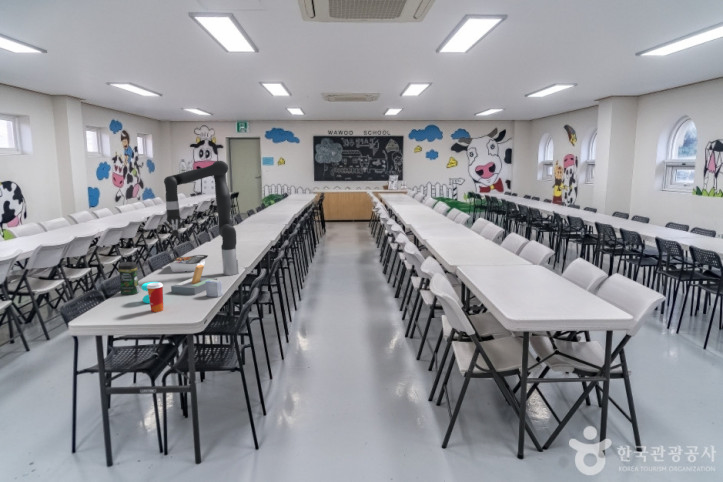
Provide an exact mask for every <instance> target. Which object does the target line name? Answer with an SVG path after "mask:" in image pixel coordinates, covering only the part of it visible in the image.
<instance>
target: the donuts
mask: <svg viewBox="0 0 723 482" xmlns="http://www.w3.org/2000/svg"><path fill="white" fill-rule="evenodd" d="M157 282H158V283H159V281H149V282H145V283H143V284H142V285H141V286H140V288H141V290H142V291H144V292H148V288H147V285H148V284H150V283H157ZM142 302H143V303H144V304H150V300H149V294H146V295H144V296H143V297H142Z"/></svg>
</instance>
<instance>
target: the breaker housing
mask: <svg viewBox="0 0 723 482" xmlns="http://www.w3.org/2000/svg"><path fill="white" fill-rule="evenodd" d="M192 279H193V277H191V278H189V279H186V280H184V281H182V282H178V283H176V284H174V285H171V286H170V289H171V294H179V295H191V296H192V295H193V296H195V295H197V294H201V293H203V292H206V283H205V282H206V281H208V280H218V278H215V277H214V278H213V277H202V276H201V278H200V282H199V283H196V284H191V282H192Z"/></svg>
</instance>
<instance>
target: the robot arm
mask: <svg viewBox="0 0 723 482" xmlns="http://www.w3.org/2000/svg"><path fill="white" fill-rule="evenodd" d="M228 170H229V165H228V164H227V162H225V161H224V160H216V161H214V162H213V163H212V164H210V165H207V166H205V167H204V166H203V167H201V168H196V169H191V170H187V171H184V172H181V173H177V174H173V175H169V176H166V177H164V179H163V184H164V187H165V209H166V220H165V221H163V225H164V226H165V227H166V228H168V229H169V230H171V233H172V236H173V237H177V236H178V234H179V232H178V230H179V229H181V228H182V226H183V225H184V224H185V220H183V219H182V217H181V213H180V205H179V196H178V186H181V185H186V184H190V183H192V182H195V181H198V180H202V179H205V178H208V177H213V179H214V192H215V194H214V195H215V203H216V204H215V205H216V209H217V216H218V234H219V236H220V237H221V238H222V241H221V242H222V243H221V246H220V248H221V258H222V259H221V260H222V273H223V275H224V276H235V275H237V274H239V261H238V259H237V247H236V246H237V231H236V229H235V227H234V226H233V225H232V223H231V219H230V218H231V217H230V216H231V209H232V200H231V199H232V198H231V193H230V190H229V186H228V183H227V173H228V172H229V171H228Z"/></svg>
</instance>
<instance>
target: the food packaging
mask: <svg viewBox="0 0 723 482" xmlns="http://www.w3.org/2000/svg"><path fill="white" fill-rule="evenodd" d="M208 257H209V255H208V254H206V255H205V254H196V255H191V256H174V257H173V258H172V259H171V260H170V261H169V262H168V263H167V262H166V265H168V264H169V266H170V269H171V272H173V273H181V272H182V273H183V272H184V273H185V271H187V272H195V268H196V266H199V265H203V266H204V267H205V262H206V258H208Z"/></svg>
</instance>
